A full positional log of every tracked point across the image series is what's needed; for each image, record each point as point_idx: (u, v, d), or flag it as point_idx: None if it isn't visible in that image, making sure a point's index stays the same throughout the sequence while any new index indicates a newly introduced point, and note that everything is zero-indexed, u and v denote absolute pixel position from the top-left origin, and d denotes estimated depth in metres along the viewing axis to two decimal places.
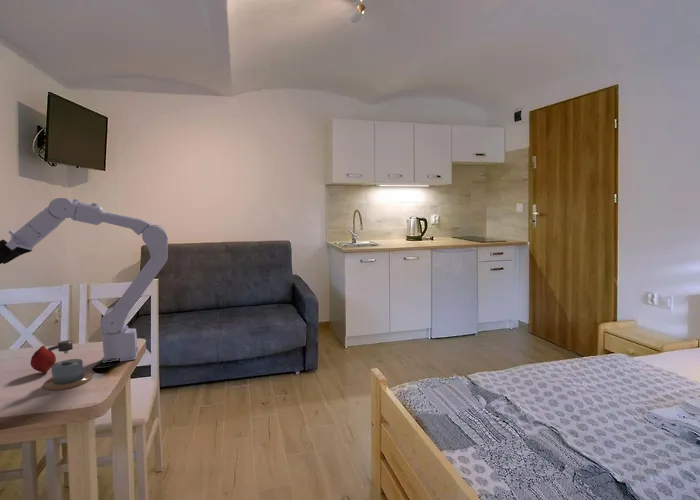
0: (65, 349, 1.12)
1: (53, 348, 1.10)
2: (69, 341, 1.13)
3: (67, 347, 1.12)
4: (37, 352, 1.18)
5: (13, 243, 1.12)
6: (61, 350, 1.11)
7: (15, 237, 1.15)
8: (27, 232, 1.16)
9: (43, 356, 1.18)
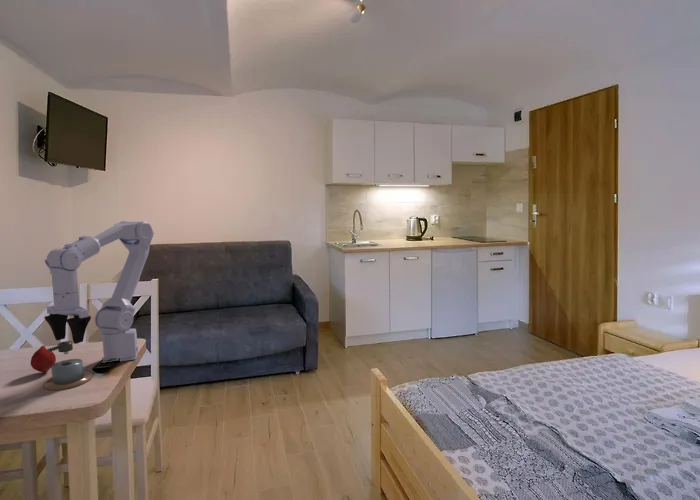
0: (65, 350, 1.12)
1: (53, 349, 1.10)
2: (69, 342, 1.13)
3: (67, 347, 1.12)
4: (37, 352, 1.18)
5: (84, 311, 1.12)
6: (61, 351, 1.11)
7: (67, 310, 1.12)
8: (70, 299, 1.13)
9: (43, 356, 1.18)
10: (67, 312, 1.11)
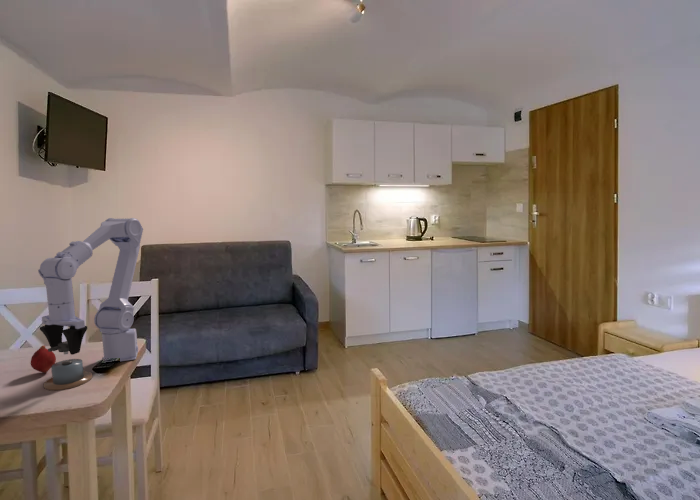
0: (65, 350, 1.12)
1: (53, 349, 1.10)
2: None
3: (67, 347, 1.12)
4: (37, 352, 1.18)
5: (81, 322, 1.09)
6: (61, 351, 1.11)
7: (63, 321, 1.10)
8: (66, 309, 1.10)
9: (43, 356, 1.18)
10: (63, 323, 1.09)
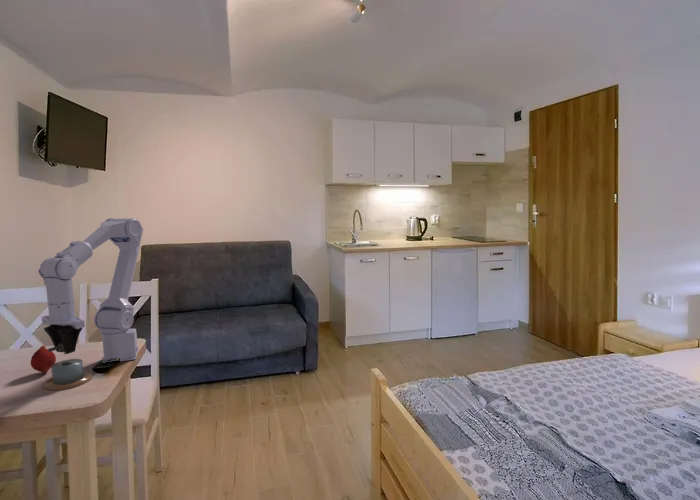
0: None
1: (53, 349, 1.10)
2: None
3: None
4: (37, 352, 1.18)
5: (81, 322, 1.09)
6: (61, 351, 1.11)
7: (63, 321, 1.10)
8: (66, 309, 1.10)
9: (43, 356, 1.18)
10: (63, 323, 1.09)
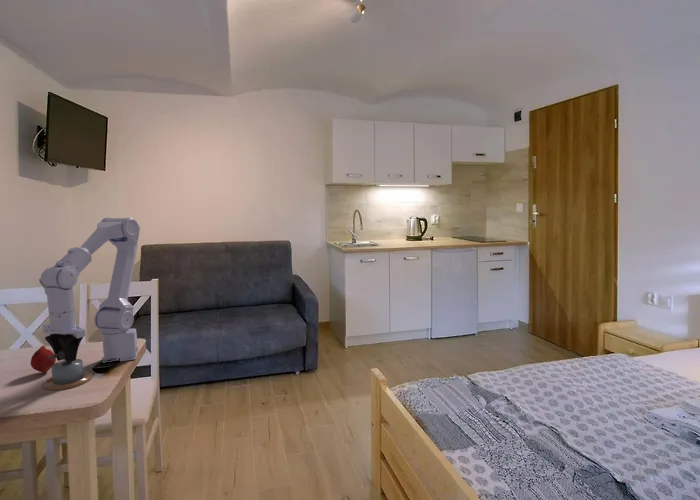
0: None
1: (54, 356, 1.10)
2: None
3: None
4: (37, 352, 1.18)
5: (81, 331, 1.09)
6: (62, 358, 1.12)
7: (64, 330, 1.10)
8: (66, 318, 1.10)
9: (43, 356, 1.18)
10: (63, 332, 1.09)
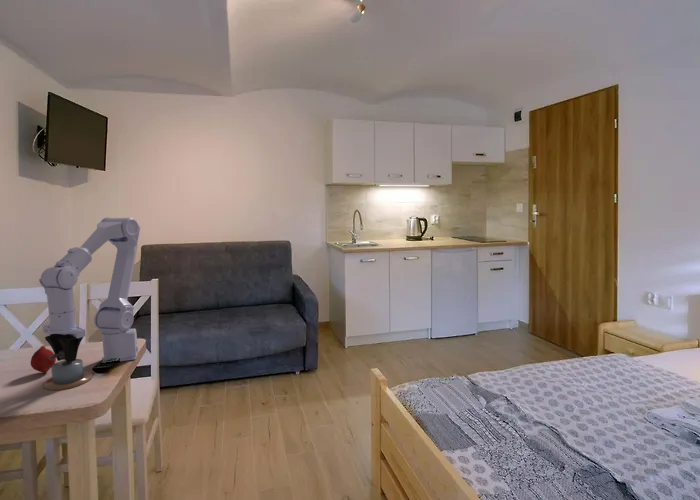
0: None
1: (54, 356, 1.10)
2: None
3: None
4: (37, 352, 1.18)
5: (81, 331, 1.09)
6: (62, 358, 1.12)
7: (64, 330, 1.10)
8: (66, 318, 1.10)
9: (43, 356, 1.18)
10: (63, 332, 1.09)
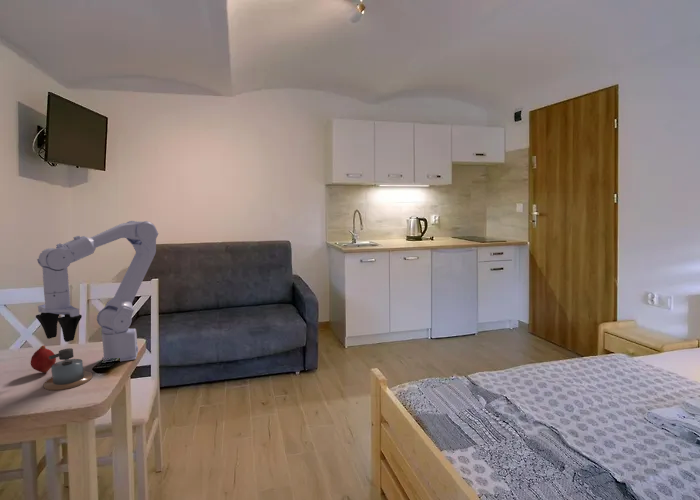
0: (66, 357, 1.12)
1: (54, 356, 1.10)
2: (70, 349, 1.14)
3: (68, 355, 1.12)
4: (37, 352, 1.18)
5: (75, 310, 1.14)
6: (62, 358, 1.12)
7: (58, 309, 1.14)
8: (61, 298, 1.14)
9: (43, 356, 1.18)
10: (58, 311, 1.13)
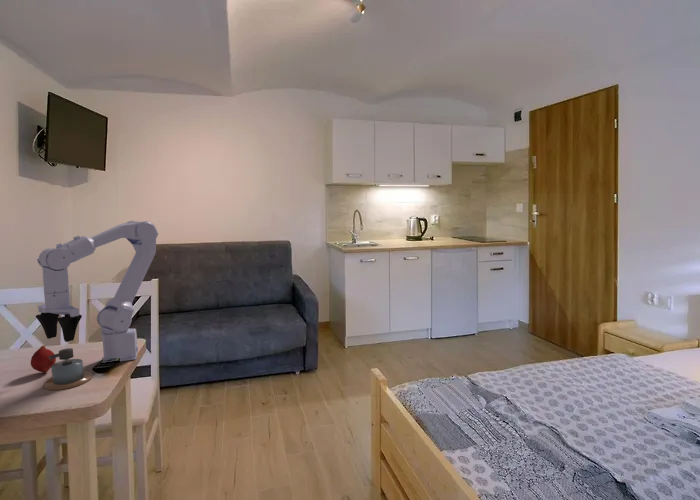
0: (66, 357, 1.12)
1: (54, 356, 1.10)
2: (70, 349, 1.14)
3: (68, 355, 1.12)
4: (37, 352, 1.18)
5: (75, 310, 1.14)
6: (62, 358, 1.12)
7: (58, 309, 1.14)
8: (61, 298, 1.14)
9: (43, 356, 1.18)
10: (58, 311, 1.13)
